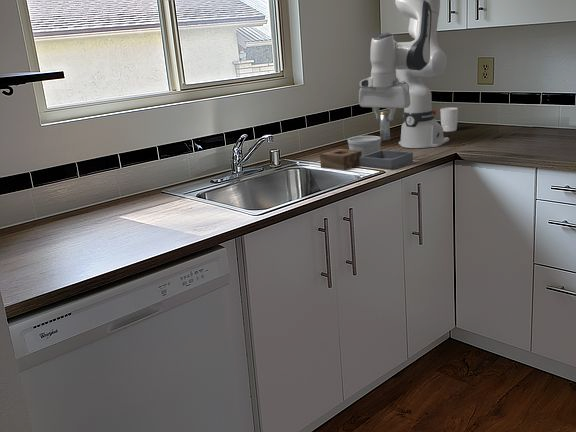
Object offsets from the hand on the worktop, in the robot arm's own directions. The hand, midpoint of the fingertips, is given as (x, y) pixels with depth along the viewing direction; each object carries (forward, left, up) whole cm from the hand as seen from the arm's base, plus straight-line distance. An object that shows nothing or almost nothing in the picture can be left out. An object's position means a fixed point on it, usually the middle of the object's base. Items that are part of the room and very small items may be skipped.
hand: (384, 120), depth 229 cm
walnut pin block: (+9, -14, -16) cm, 23 cm away
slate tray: (0, 0, -16) cm, 16 cm away
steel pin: (0, 0, -7) cm, 7 cm away
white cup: (-71, -14, -17) cm, 74 cm away
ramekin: (-10, -17, -17) cm, 26 cm away
